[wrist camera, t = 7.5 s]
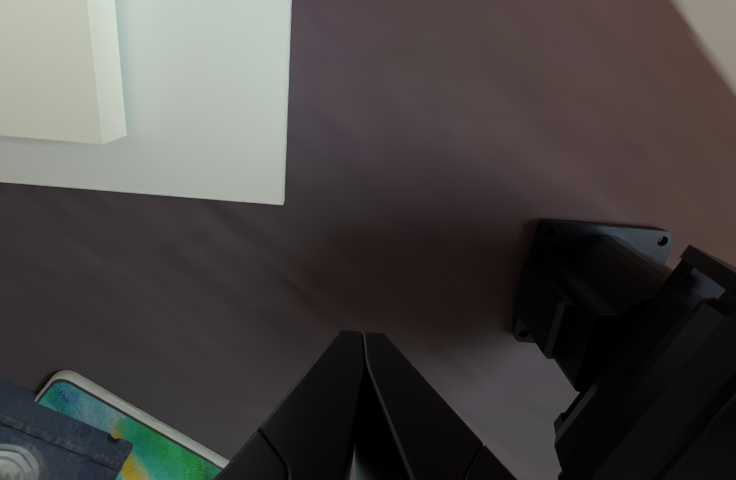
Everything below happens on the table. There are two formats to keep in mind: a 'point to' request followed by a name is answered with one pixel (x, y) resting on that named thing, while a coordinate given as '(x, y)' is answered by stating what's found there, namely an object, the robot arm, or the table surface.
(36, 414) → the vhs cassette tape
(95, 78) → the tile
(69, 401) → the smartphone
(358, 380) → the robot arm
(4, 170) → the mat
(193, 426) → the table surface
